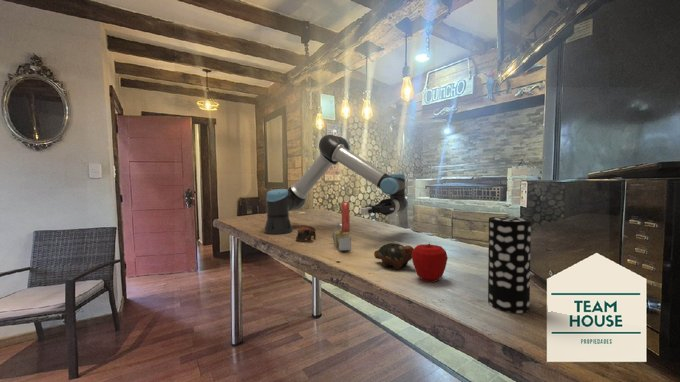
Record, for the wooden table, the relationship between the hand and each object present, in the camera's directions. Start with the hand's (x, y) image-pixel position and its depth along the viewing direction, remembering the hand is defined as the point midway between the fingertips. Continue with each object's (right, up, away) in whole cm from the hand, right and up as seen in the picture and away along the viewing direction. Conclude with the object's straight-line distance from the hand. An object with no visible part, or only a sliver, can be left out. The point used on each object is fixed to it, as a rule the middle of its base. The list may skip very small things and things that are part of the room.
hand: (362, 211), depth 120 cm
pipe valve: (-9, -15, +4) cm, 18 cm away
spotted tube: (+30, -18, -53) cm, 63 cm away
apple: (+17, -17, -36) cm, 43 cm away
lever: (-8, -7, -2) cm, 11 cm away
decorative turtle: (+9, -17, -23) cm, 30 cm away
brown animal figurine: (-25, -15, +19) cm, 35 cm away
